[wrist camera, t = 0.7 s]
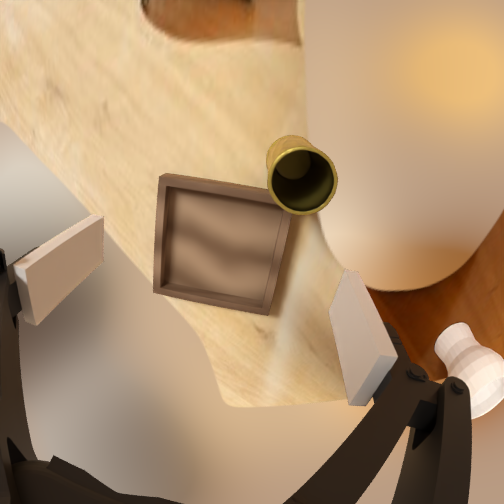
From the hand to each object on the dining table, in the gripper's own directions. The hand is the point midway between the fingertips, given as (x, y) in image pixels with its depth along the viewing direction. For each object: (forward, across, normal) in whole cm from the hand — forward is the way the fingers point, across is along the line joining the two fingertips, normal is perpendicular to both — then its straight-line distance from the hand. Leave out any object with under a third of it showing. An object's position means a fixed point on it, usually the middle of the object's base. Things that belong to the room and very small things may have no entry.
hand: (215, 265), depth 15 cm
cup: (+23, +40, -17) cm, 49 cm away
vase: (+23, +4, +4) cm, 23 cm away
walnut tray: (+22, -2, -8) cm, 24 cm away
